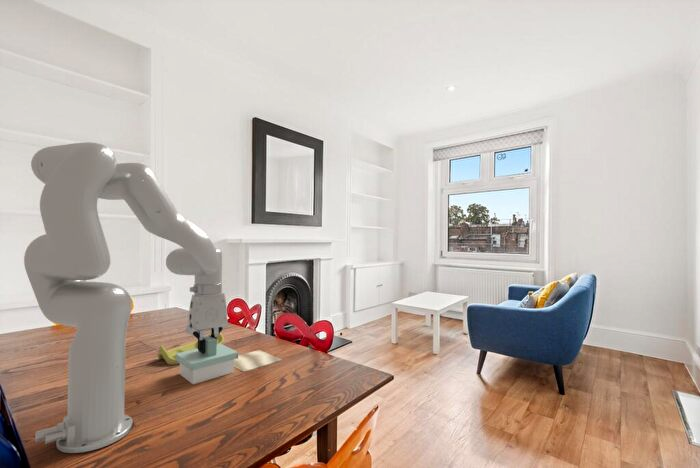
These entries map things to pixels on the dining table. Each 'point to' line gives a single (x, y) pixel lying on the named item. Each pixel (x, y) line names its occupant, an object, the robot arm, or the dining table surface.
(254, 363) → the board
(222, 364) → the tub
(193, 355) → the lid
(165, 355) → the plastic component
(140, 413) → the dining table surface
